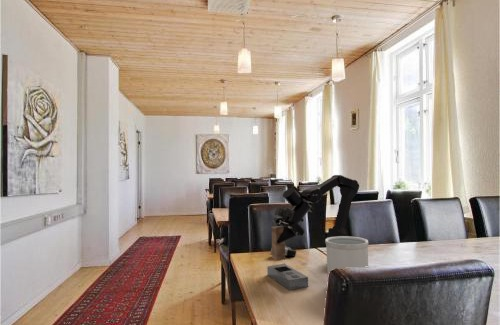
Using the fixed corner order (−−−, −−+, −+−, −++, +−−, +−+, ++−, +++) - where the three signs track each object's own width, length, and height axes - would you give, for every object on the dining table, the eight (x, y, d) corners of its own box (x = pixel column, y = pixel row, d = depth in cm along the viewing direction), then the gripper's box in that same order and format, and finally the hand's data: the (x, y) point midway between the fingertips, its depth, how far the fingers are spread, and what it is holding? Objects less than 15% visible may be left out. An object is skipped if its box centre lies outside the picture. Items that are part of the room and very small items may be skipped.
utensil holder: (319, 284, 114) (317, 237, 114) (353, 279, 118) (352, 234, 118) (341, 300, 99) (339, 246, 100) (379, 294, 103) (377, 242, 104)
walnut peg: (280, 256, 128) (280, 226, 128) (285, 259, 124) (284, 227, 124) (272, 258, 126) (271, 226, 127) (276, 260, 123) (275, 228, 123)
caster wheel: (296, 259, 155) (291, 261, 146) (275, 252, 160) (269, 254, 151) (299, 246, 156) (294, 248, 147) (278, 240, 160) (272, 241, 151)
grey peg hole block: (267, 274, 125) (267, 265, 125) (284, 272, 128) (284, 263, 128) (289, 290, 108) (289, 280, 108) (308, 286, 111) (308, 276, 111)
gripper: (276, 198, 136) (253, 225, 132) (297, 202, 119) (272, 233, 114) (292, 215, 139) (270, 241, 134) (314, 221, 121) (291, 251, 117)
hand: (275, 241), depth 125 cm, fingers closed on walnut peg, 4 cm apart
